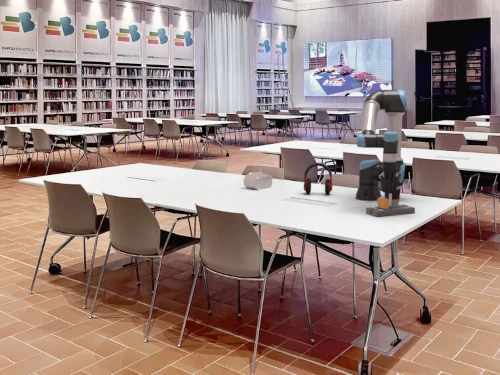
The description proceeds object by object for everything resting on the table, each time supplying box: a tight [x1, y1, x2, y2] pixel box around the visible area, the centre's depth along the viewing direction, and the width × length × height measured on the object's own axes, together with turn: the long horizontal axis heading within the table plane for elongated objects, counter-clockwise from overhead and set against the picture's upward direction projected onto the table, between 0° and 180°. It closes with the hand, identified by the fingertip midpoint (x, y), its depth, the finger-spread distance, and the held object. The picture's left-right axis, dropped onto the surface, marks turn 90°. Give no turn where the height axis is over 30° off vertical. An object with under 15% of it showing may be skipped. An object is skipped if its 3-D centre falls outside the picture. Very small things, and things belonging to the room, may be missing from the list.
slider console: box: [365, 203, 416, 218], centre depth 323 cm, size 10×24×3 cm, turn 112°
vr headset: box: [242, 166, 273, 191], centre depth 405 cm, size 18×11×14 cm, turn 138°
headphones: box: [303, 162, 333, 196], centre depth 379 cm, size 18×10×20 cm, turn 79°
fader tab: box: [377, 196, 389, 209], centre depth 321 cm, size 6×3×7 cm, turn 22°
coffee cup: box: [391, 181, 403, 205], centre depth 342 cm, size 10×10×15 cm
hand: (388, 205), depth 322 cm, fingers closed
